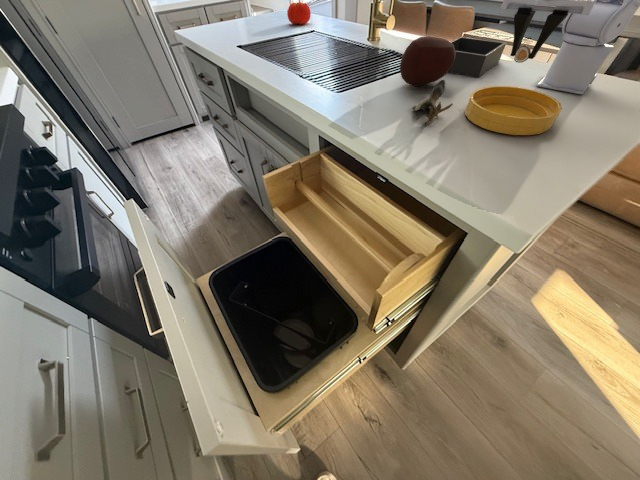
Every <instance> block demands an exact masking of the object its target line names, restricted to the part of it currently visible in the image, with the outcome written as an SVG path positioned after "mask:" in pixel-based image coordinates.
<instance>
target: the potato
mask: <svg viewBox="0 0 640 480" xmlns="http://www.w3.org/2000/svg"><path fill="white" fill-rule="evenodd" d="M455 55H456V50H455V47H454V45H453V44H452V43H451V41H450V40H448V39H445V38H442V37H437V36H430V35H429V36H428V35H427V36H420V37H418V38H416V39H414V40H412V41H411V42H410V44H409V45H408V46H407V47H405V50H404V52H403V54H402V56H401V60H400V64H399V72H400V76H401V79H402V80H403V81H404V82H405V83H406V84H408V85H411V86H413V87H421V86H426V85H429V84H432V83H435V82H438V81H440V80H441V79H442V78H443V77H444V76H446V75H447V74H448V73H449V72H448V71H449V70H450V68H451V67H452V65H453V62H454V60H455Z"/></svg>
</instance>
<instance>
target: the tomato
mask: <svg viewBox="0 0 640 480" xmlns="http://www.w3.org/2000/svg"><path fill="white" fill-rule="evenodd" d="M287 20H288V21H289V22H290V23H291V24H293V25H297V24H298V25H305V24H307V23H308V22H309V21H310V20H311V8H310V6H309V5H308V3H306V2H301V1H298V2H292V3H290V5H289V6H288V8H287Z"/></svg>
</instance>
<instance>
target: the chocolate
mask: <svg viewBox="0 0 640 480" xmlns="http://www.w3.org/2000/svg"><path fill="white" fill-rule="evenodd" d="M523 41H524V42H523V45H521V46H520V48H519V49H518V50H517V51H516V53H515V56H514V59H513V60H514V62H515V63H518V64H519V63H520V64H521V63H524V62H526V61H527V60H529V56H530V54H531V52H532V50H531V48H530V46H529V45H531V43H533V40H528V39H526V38H523Z"/></svg>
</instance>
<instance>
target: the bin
mask: <svg viewBox="0 0 640 480" xmlns="http://www.w3.org/2000/svg"><path fill="white" fill-rule="evenodd" d="M450 42H451V43H452V44H453V45H454V47H455V50H456V55H455V60H454V62H453V65H452V67H451V68H450V70H449V71H448V72H447V73H451V74H457V75H462V76H466V77H471V78H477V79H479V78H481V76H483V75H484V74H486V73H487V72H489V71H490V70H492V68H494V67H496V65H498V64H499V63H500V61H501V57H502V56H503V52H504V50H505V47H506V45H507V42H503V41H495V40H487V39H480V38H471V37H464V36H460V37H457V38H456V39H455V38H454V40H451V41H450Z"/></svg>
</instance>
